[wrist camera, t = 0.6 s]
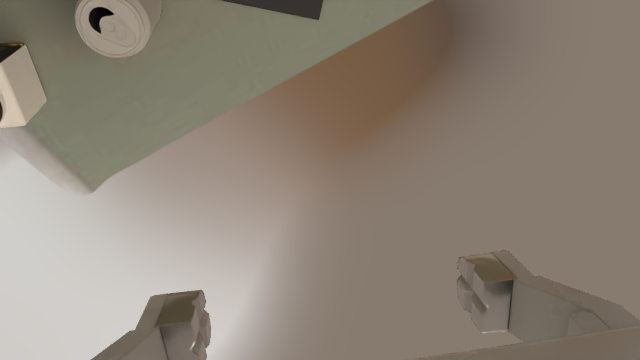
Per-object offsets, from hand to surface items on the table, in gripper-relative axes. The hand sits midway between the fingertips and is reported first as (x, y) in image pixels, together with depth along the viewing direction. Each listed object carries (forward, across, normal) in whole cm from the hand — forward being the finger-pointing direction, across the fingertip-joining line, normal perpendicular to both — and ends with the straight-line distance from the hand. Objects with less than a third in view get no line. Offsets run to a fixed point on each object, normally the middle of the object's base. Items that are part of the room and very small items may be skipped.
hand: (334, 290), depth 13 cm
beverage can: (+42, +17, -12) cm, 47 cm away
